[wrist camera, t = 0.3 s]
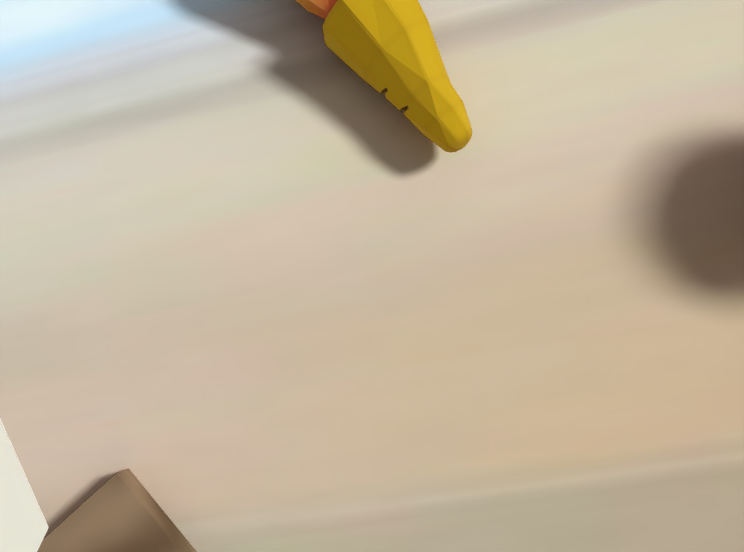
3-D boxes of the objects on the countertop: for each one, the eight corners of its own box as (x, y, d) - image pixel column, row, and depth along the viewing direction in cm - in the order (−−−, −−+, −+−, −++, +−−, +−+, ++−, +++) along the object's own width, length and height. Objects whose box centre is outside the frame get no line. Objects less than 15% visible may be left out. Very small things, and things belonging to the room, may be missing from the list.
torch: (439, 174, 51) (253, -67, 52) (518, 109, 48) (320, -148, 48) (411, 185, 44) (194, -97, 44) (503, 109, 40) (268, -195, 41)
